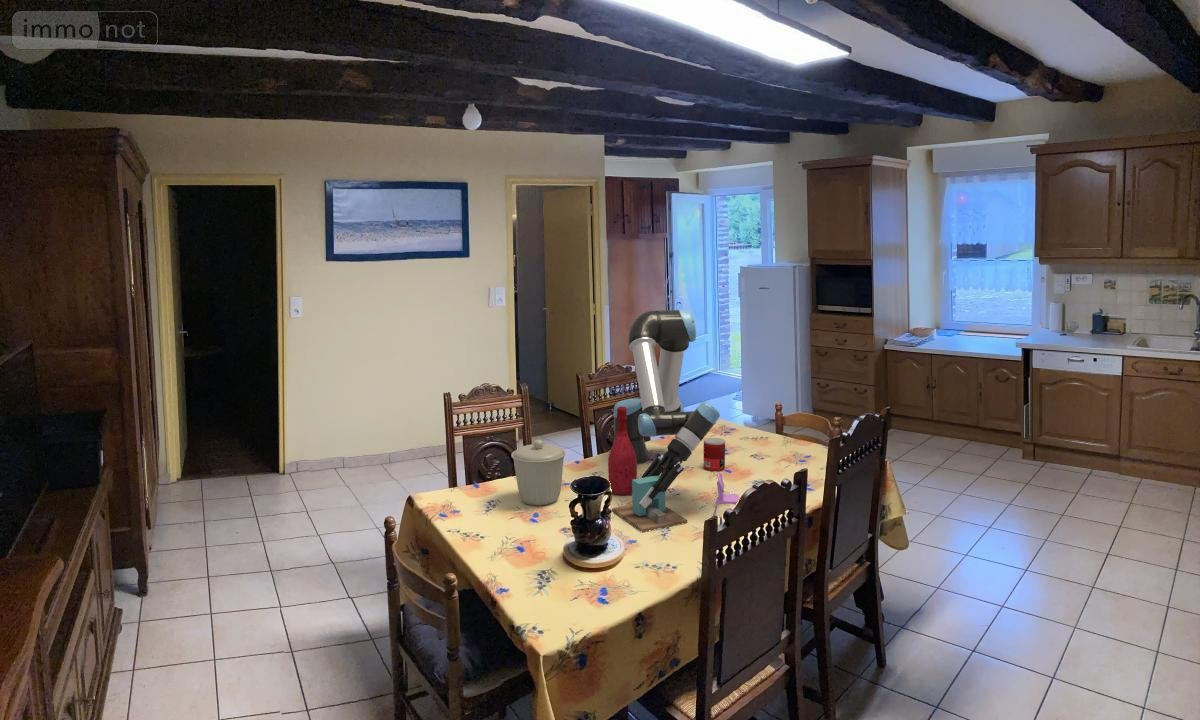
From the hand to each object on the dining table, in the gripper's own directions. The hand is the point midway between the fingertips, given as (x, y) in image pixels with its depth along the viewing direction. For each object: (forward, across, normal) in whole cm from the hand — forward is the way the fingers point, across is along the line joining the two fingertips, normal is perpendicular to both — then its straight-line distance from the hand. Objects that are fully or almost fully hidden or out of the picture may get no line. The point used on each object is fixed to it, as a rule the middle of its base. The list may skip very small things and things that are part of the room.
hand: (638, 503), depth 246 cm
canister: (+19, +30, +11) cm, 37 cm away
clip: (0, 0, -5) cm, 5 cm away
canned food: (-31, +30, -39) cm, 58 cm away
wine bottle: (-1, +25, -9) cm, 26 cm away
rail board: (+1, 0, -6) cm, 6 cm away
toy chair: (-13, -14, -21) cm, 28 cm away
